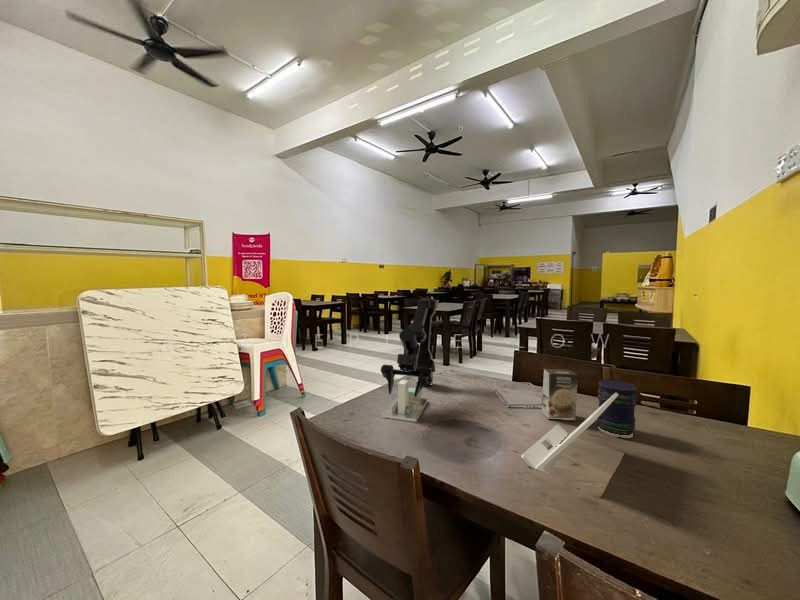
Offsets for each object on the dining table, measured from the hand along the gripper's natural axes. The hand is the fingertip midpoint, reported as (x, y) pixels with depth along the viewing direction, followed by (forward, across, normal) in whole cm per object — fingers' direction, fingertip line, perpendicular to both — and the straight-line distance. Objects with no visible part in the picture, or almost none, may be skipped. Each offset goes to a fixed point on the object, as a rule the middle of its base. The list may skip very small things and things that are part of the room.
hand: (402, 395), depth 110 cm
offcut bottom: (-4, 0, +13) cm, 14 cm away
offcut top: (-6, 0, +12) cm, 13 cm away
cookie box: (-6, +52, +16) cm, 55 cm away
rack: (+1, 0, +9) cm, 9 cm away
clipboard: (-19, +40, +30) cm, 54 cm away
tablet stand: (+14, +51, -3) cm, 53 cm away
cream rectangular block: (+3, 0, +5) cm, 6 cm away
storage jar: (-1, +67, +12) cm, 68 cm away
